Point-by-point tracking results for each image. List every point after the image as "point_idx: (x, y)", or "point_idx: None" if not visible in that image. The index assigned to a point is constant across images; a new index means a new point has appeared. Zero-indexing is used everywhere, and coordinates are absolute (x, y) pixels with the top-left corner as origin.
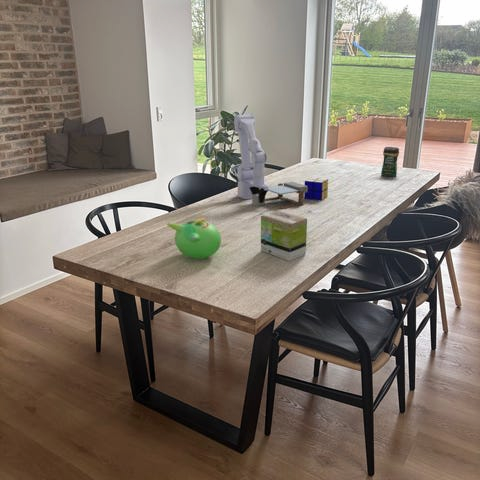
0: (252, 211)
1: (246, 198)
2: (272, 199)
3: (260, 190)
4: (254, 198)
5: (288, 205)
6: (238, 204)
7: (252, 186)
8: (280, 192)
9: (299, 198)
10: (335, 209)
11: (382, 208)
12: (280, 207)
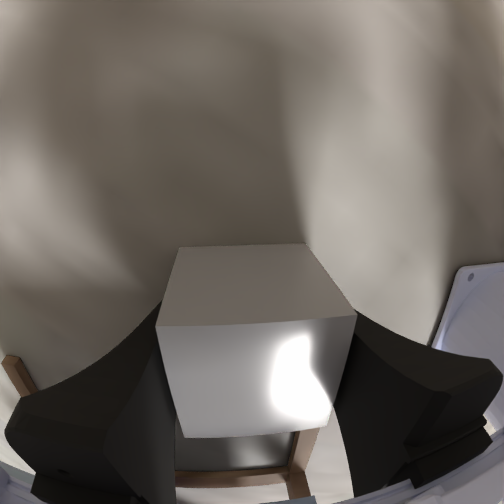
0: (13, 74)
1: (460, 284)
2: (294, 439)
3: (6, 438)
4: (263, 287)
5: None
6: (382, 82)
7: (468, 438)
8: None
9: None
10: (9, 464)
11: None
12: (11, 363)
